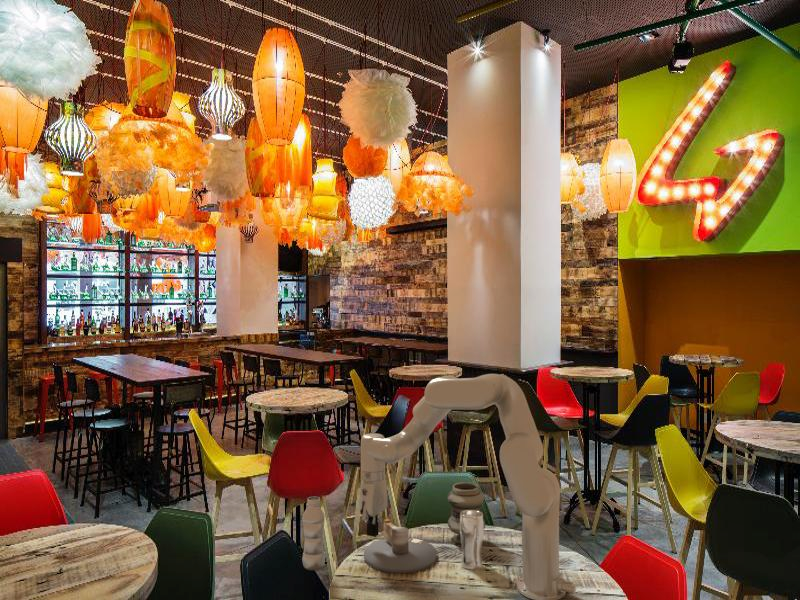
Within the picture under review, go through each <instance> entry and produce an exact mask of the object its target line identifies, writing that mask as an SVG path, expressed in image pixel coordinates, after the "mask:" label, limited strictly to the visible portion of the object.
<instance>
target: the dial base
mask: <svg viewBox="0 0 800 600" xmlns="http://www.w3.org/2000/svg"><path fill="white" fill-rule="evenodd" d="M408 542H409V551H408V552H407V553H405V554H395V553H393V552H392V544H391V543H390V542H389V541H387V540H386V539H385V538H384V539H380V540H376V541H374V542H372V543H370V544H369V545H367V546H366V547H365V548H364V551H363V560H364V559H365V560H364V562H365V561H366V562H365V563H366V565H368V566H369V567H370V566H371V569H372V568H373V569H374V570H377V571H379V572H380V571H381V572H385V573H391V574H409V573H414V572H415V573H417V572H420V571H423V570H425V569H428V568H430V567H431V566H433V565H435V563H436V561H437V559H438V557H437V556H438V555H437V549H436V547H435V546H433V545H432V544H431V543H429V542H427V541H425V540H424V539H423V540H421V539H417V538H414V537H413V538H411V537H408Z"/></svg>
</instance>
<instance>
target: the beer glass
mask: <svg viewBox="0 0 800 600" xmlns="http://www.w3.org/2000/svg"><path fill="white" fill-rule="evenodd" d="M483 520H484V514H483V512H482V511H481V512H480V511H477V510H464V511H462V512H461V513H460V537H461V543H462V547H461V549H462V559H461V567H464V568H463V569H465V568H466V569H465V570H471V571H476V570H480V569H482V568H483V560H482V547H483V540H484V531H485V528H484V525H483Z"/></svg>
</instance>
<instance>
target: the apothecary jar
mask: <svg viewBox="0 0 800 600" xmlns="http://www.w3.org/2000/svg"><path fill="white" fill-rule="evenodd" d="M447 501H448V503H449V504H450V505H451V508H450V509H451V511H450V512H451V513H450V514H451V515H450V517H449V519H448V520H447V526H448V528H449V530H450V531H451V532H452V533H454V534H456V535H454V536H453V537H451V539H450V541H451V543H452V545H454V546H458V547H460V548H462V543H461V537H460V513H461V512H462V511H464V510H477V511H480V512H482V508H481V506H482V505H483V504H484V503H485V496H484V494H483V493H482V492H481V490H480V487H479V484H477V483H474V482H468V481H467V482H465V481H463V482H456V483H454V484H453V485H452V488H451V491H450V492H449V493H448V494H447ZM483 525H484V529H485V528H486V522H485V520H484V519H483Z"/></svg>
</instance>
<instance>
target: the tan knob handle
mask: <svg viewBox="0 0 800 600" xmlns="http://www.w3.org/2000/svg"><path fill="white" fill-rule="evenodd" d="M383 538H384V539H386V540H387V541H389V542H390V543H391V544H392V552H393V553H395V554H405V553H407V552H408V551H409V542H408V538H409V529H408V527H405V526H397V525H394V524H393V523H392V522H391V520H390V519H389V518H385V519H383Z"/></svg>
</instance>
